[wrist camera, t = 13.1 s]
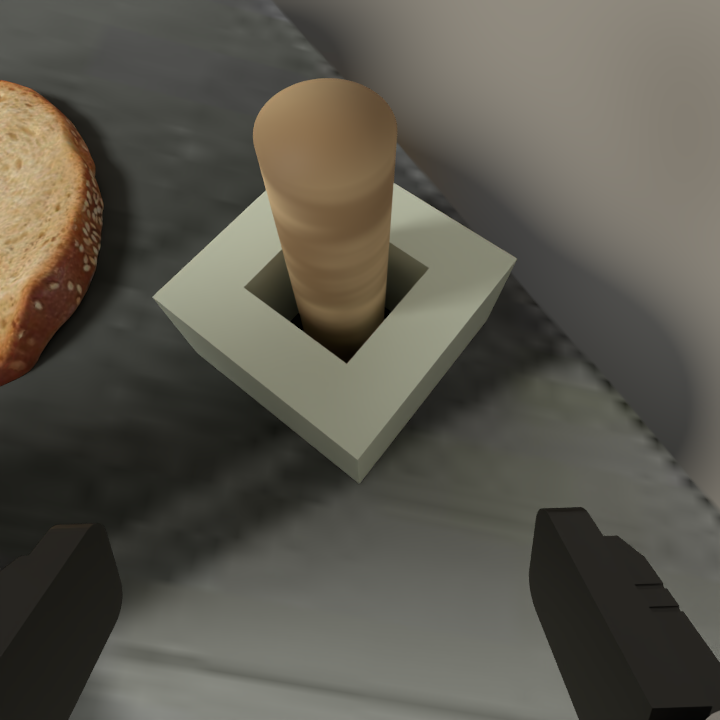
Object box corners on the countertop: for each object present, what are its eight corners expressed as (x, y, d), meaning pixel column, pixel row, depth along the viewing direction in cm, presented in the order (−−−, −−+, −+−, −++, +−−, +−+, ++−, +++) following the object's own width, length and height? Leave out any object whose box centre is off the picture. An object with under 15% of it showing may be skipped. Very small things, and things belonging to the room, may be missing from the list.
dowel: (291, 344, 27) (222, 140, 14) (339, 292, 28) (316, 58, 15) (350, 388, 26) (335, 213, 13) (397, 332, 27) (426, 120, 14)
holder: (196, 352, 27) (152, 297, 21) (329, 217, 30) (321, 138, 24) (359, 483, 24) (357, 459, 19) (486, 321, 27) (517, 258, 22)
